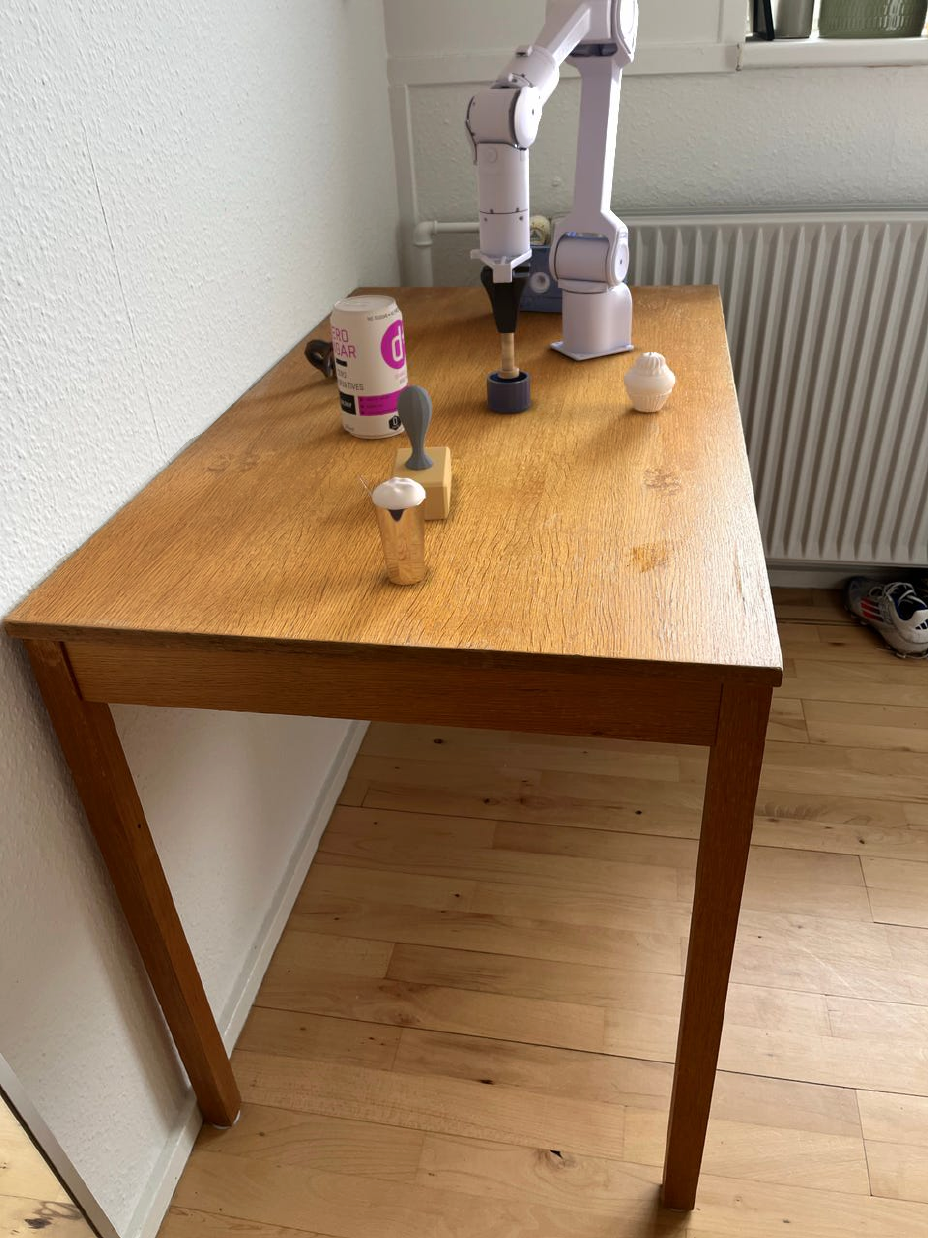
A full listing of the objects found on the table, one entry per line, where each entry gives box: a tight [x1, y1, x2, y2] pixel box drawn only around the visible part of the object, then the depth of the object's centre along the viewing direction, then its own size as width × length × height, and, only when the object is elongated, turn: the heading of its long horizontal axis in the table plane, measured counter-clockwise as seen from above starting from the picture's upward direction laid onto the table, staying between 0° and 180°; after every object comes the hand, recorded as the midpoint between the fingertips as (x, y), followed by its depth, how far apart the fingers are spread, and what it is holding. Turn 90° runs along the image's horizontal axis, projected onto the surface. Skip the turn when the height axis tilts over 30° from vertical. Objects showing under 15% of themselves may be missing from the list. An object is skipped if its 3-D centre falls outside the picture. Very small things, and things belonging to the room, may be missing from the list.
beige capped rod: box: [497, 333, 520, 379], centre depth 116 cm, size 3×3×8 cm
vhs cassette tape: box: [519, 243, 628, 313], centre depth 153 cm, size 18×3×10 cm, turn 69°
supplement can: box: [329, 294, 409, 440], centre depth 112 cm, size 8×8×15 cm
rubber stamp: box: [389, 384, 453, 521], centre depth 96 cm, size 10×6×12 cm, turn 179°
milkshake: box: [359, 475, 426, 586], centre depth 83 cm, size 4×5×10 cm
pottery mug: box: [303, 338, 337, 379], centre depth 129 cm, size 12×10×8 cm
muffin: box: [623, 351, 676, 414], centre depth 115 cm, size 6×6×7 cm
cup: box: [485, 369, 532, 415], centre depth 119 cm, size 5×5×4 cm
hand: (507, 329), depth 115 cm, fingers closed on beige capped rod
